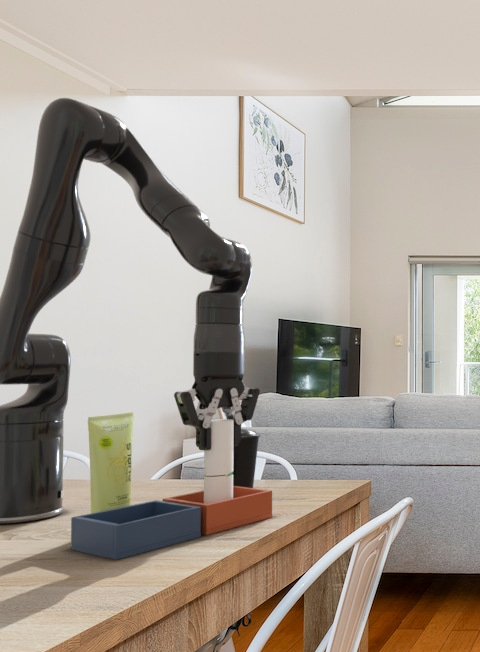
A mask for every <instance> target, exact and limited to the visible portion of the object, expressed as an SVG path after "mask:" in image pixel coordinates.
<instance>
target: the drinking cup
mask: <svg viewBox="0 0 480 652" xmlns="http://www.w3.org/2000/svg"><path fill="white" fill-rule="evenodd" d="M260 437H261V433H260V432H256V431H254V430H252V429H249V428H241V441H240V442H239V444H238V446H234V448H233V473H232V474H233V486H239V487H247V488H254V484H255V475H256V465H257V457H258V447H259V438H260Z"/></svg>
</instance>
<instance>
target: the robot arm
mask: <svg viewBox="0 0 480 652" xmlns="http://www.w3.org/2000/svg"><path fill="white" fill-rule="evenodd" d="M36 137H37V138H36V145H35V146H36V147H35V155H34V163H33V169H32V175H31V181H30V186H29V189H28V193H27V197H26V203H25V207H24V210H23V214H22V218H21V221H20V223H19V226H18V230H17V234H16V236H15V241H14V245H13V248H12V254H11V257H10V263H9V266H8V270H7V273H6V277H5V280H4V283H3V286H2V287H3V288H2V290H1V294H0V386H13V385H14V386H17V385H18V386H19V385H27V387H26V388H27V389H26V390H25V392H24V393H23V394H22V395H21V396H19V397H18V398H16V399H14V400H12V401H9V402H6V403H3V404H0V524H1V525H2V524H3V525H5V524H17V523H25V522H32V521H39V520H45V519H48V518H52V517H55V516H58V515H61V514H62V513H63V512H64V506H63V498H64V496H65V488H64V415H65V410H66V407H67V405H68V400H69V386H70V378H71V377H70V375H71V361H72V360H71V352H70V347H69V345H68V343H67V342H66V340H65V339H64V338H62V337H61V336H59V335H56V334H52V333H51V334H49V333H31V332H30V330H31V327H32V325H33V323H34V321H35V319H36V317H37V316H38V314H39V313H40V312H41V311H42V309H43V308H44V307H45V306H46V305H47V304H48V303H50V301H52V300H53V299H54V298H56V297H57V296H58V295H59V294H60V293H62V292H63V291H64V290H65V289H66V288H68V287H69V286H70V285H71V284H72V283H73V282H74V281H75V280H76V279H77V278H78V277H79V276H80V274H81V273H82V272H83V270H84V269H83V268H84V265H85V262H86V259H87V257H88V256H87V255H88V251H89V248H90V244H91V240H92V239H91V238H92V237H91V235H92V234H91V229H90V225H89V221H88V219H87V216H86V213H85V211H84V208H83V205H82V203H81V199H80V195H79V180H80V179H79V178H80V174H81V169H82V166H83V162H84V161H89V162H93V163H96V164H101V165H103V166H105V167H106V168H108V169H109V170H111V171H112V172H114V173H115V174H117V175H118V176H120V177H121V178H122V179H123V180H124V181H125V182H126V183H127V184H128V185H129V187H130V188H131V190H132V193H133V197H134V198H135V202H136V203H137V205H138V207H139V208H140V210H141V212H142V213H143V214H144V215H145V216H146V217H147V218H148V219H149V220H150V221H151V222H152V223H153V224H154V225H155V226H156V227H157V228H158V229H159V230H160V231H161V232H163V233H164V235H166V236H167V237H168V238H169V239H170V241H171V243H172V244H173V246H174V247H175V249H176V250H177V252H178V254H179V255H180V256H181V258H182V259H183V260H184V261H185V262H186V263H187V264H188V265H189V266H190V267H191V268H193V269H195V270H196V271H197V272H199V273H201V274H204V275H208V276H211V279H210V284H209V288H208V289H205V290H202V291H200V292H199V293H198V294H197V295H196V298H195V327H194V332H193V358H192V359H193V360H192V361H193V362H192V364H193V365H192V366H193V367H192V368H193V369H192V372H193V373H192V375H193V378H194V383H193V384H192V386H191V388H189V389H186V390H183V391H176V392H174V393H173V397H174V400H175V404H176V406H177V409H178V412H179V415H180V419H181V421H182V424H183V425H184V426H189V427H193V428H194V429H195V446H196V447H197V448H198V450H199V451H204V450H210V449H211V428H208V427H209V426H210V424H211V420H213V417H214V416H215V415H216V413H217V410H218V409H221V410H222V412H223V413H224V415H225V419H233V420H234V446H238V444H239V442H240V441H241V429H242V424H244V423H245V422H247V421H251V420H252V419H253V417H254V413H255V410H256V406H257V403H258V400H259V396H260V391H261V390H260V389H259V388H257V387H249V386H246V384H245V383H244V380H243V378H244V376H245V372H246V371H245V365H246V364H245V363H246V362H245V361H246V360H245V359H246V356H245V355H246V354H245V353H246V351H245V349H246V338H245V331H244V301H245V297H246V295H247V292H248V289H249V288H248V287H249V285H250V281H251V277H252V271H253V261H252V256H251V253H250V252H249V250H248V249H247V247H246V246H245V245H244V244H242V243H241V242H239V241H236V240H233V239H230V238H228V237H224V236H221V235H220V234H218V233H217V232H215V231H214V230H213V229H212V228H211V222H210V219H209V218H208V216H207V215H206V214H205V213H204V211H203V210H202V209H200V208H199V207H198V205H196V204H195V203H194V202H193V201H192V200H191V199H190V198H189V197H188V196H187V195H186V194H185V193H183V192H182V190H180V188H178V187H177V186H176V185H175V184H174V183H173V181H171V180H170V179H169V177H168V176H167V175H166V174H165V173H164V172H163V171H162V170H161V169H160V167H159V166H158V165H157V163H156V162H155V161H154V160H153V158H152V157H151V156H150V155H149V153H148V152H147V151H146V149H145V148H144V147H143V145H142V144H141V143H140V141H139V140H138V139H137V137H136V136H135V134H133V132H132V131H131V130H130V128H129V127H128V126H127V125H126V124H125V122H123V121H122V120H121V119H120V118H119V117H117V116H116V115H113V114H112V113H110V112H108V111H105V110H103V109H99V108H97V107H94V106H92V105H90V104H88V103H84V102H82V101H79V100H77V99H73V98H70V97H60V98H57V99H54V100H53V101H51V102H49V104H48V105H47V106H46V107H45V109H44V110H43V113H42V115H41V118H40V122H39V125H38V130H37V136H36ZM29 332H30V333H29ZM195 397H196V398H195ZM240 398H242V399H241V402H240ZM196 399H197V400H198V403H197V407H196V406H195V403H194V401H195V400H196Z"/></svg>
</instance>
